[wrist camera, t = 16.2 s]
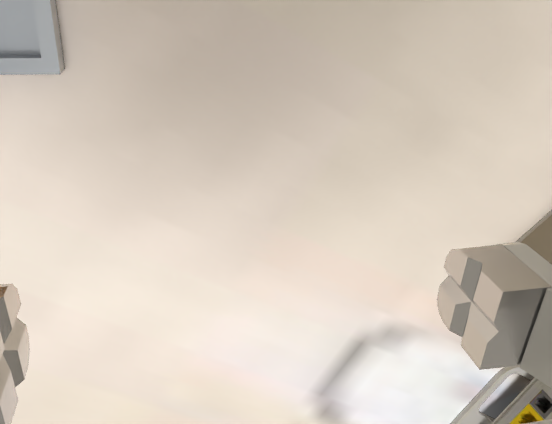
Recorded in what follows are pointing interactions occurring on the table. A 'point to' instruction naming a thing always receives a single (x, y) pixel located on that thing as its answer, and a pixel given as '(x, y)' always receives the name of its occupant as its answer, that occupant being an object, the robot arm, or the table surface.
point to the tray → (30, 37)
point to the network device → (523, 409)
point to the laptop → (540, 237)
